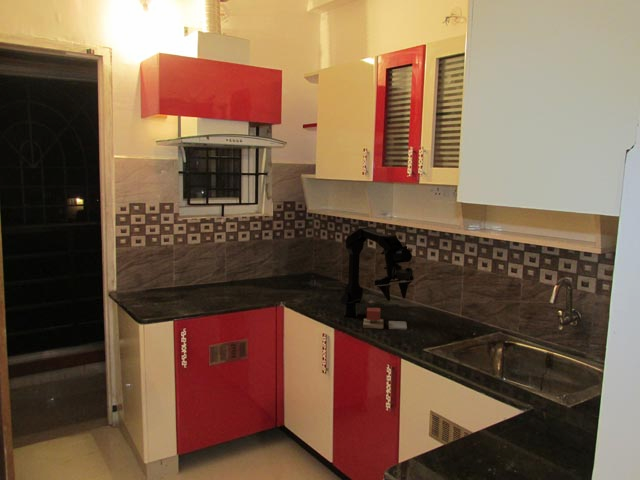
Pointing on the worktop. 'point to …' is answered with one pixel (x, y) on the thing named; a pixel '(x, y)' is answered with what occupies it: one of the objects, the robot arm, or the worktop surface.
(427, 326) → the worktop surface
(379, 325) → the post stand
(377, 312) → the red cuboid block
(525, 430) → the worktop surface
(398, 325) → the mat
